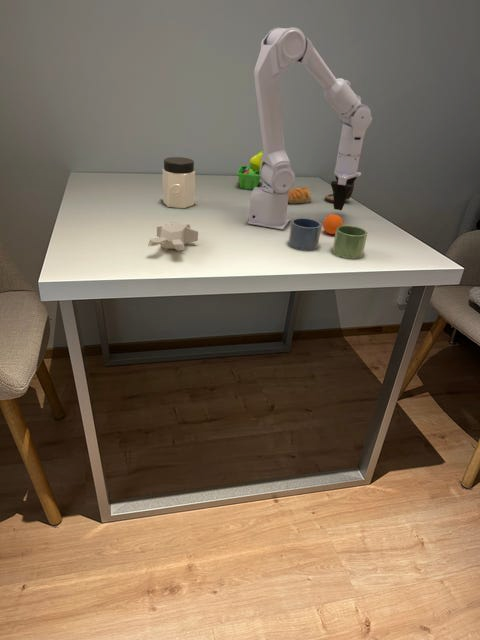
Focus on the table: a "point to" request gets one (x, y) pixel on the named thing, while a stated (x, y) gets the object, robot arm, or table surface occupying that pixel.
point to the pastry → (299, 195)
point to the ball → (332, 223)
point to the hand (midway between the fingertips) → (339, 205)
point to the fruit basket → (250, 173)
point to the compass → (331, 198)
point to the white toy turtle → (174, 236)
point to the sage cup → (349, 242)
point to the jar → (178, 182)
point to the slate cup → (304, 234)
